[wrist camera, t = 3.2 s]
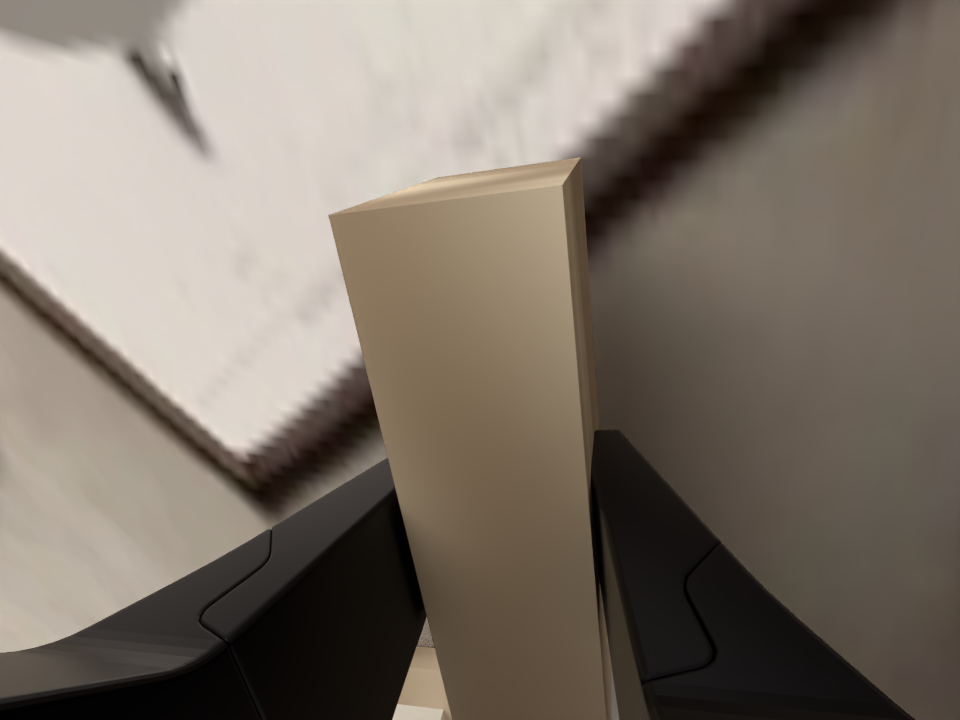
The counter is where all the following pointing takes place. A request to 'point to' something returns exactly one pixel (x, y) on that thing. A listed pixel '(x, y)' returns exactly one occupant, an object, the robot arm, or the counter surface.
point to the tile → (417, 713)
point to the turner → (490, 427)
